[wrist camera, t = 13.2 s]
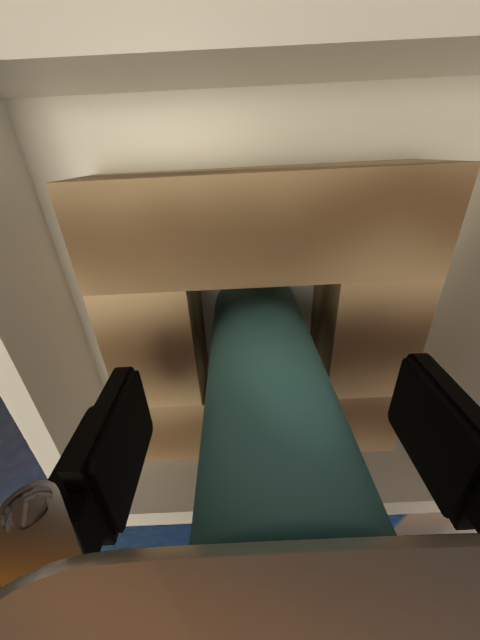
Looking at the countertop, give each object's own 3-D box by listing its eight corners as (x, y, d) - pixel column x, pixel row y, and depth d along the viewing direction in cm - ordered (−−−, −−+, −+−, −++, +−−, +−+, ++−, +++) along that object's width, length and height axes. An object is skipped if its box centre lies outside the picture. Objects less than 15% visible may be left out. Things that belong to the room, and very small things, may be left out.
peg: (293, 340, 18) (383, 616, 7) (218, 344, 18) (198, 625, 7) (297, 268, 16) (432, 512, 5) (211, 273, 16) (169, 526, 5)
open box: (405, 428, 23) (457, 511, 17) (112, 441, 23) (76, 528, 18) (531, 38, 12) (766, -51, 7) (-26, 66, 12) (-227, 0, 7)
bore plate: (364, 398, 20) (392, 450, 17) (153, 408, 20) (136, 462, 17) (415, 158, 13) (481, 161, 10) (95, 174, 13) (45, 182, 10)
